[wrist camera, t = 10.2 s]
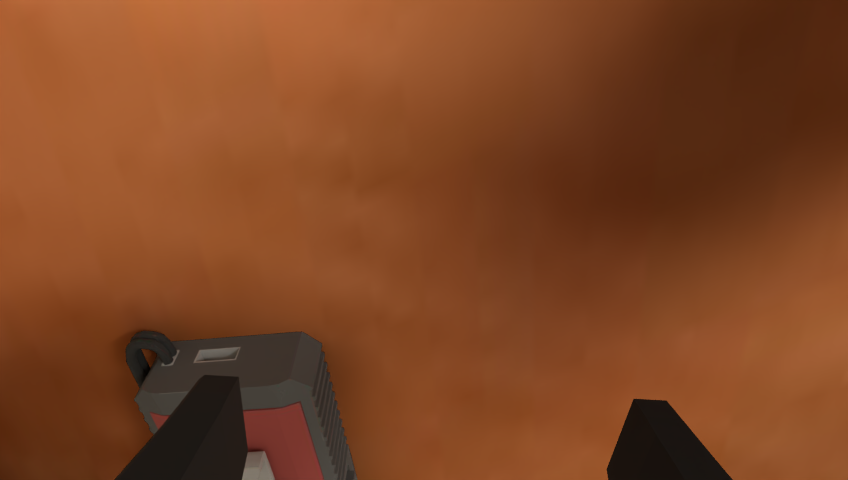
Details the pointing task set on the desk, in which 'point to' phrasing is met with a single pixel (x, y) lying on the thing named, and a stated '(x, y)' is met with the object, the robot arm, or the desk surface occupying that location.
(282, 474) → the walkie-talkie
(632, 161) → the desk surface
